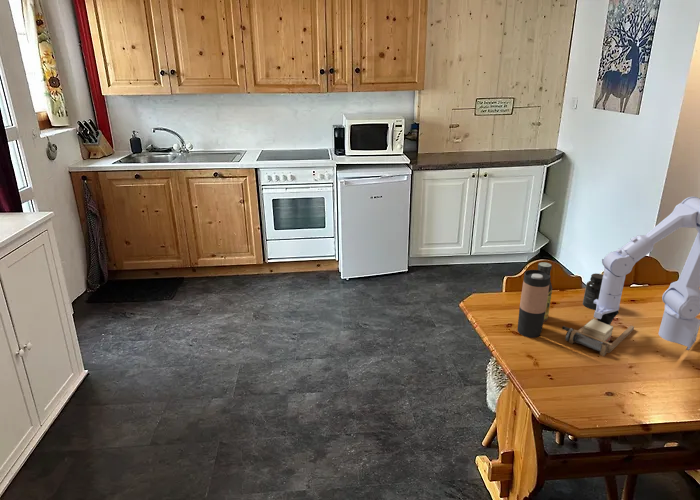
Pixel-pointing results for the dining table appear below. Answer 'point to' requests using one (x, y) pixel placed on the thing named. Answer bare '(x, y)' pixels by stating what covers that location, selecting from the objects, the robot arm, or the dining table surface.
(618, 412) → the dining table surface
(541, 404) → the dining table surface
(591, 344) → the winch
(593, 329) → the red striped cream box
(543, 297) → the travel mug
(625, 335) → the bay
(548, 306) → the sauce bottle
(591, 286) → the supplement bottle
